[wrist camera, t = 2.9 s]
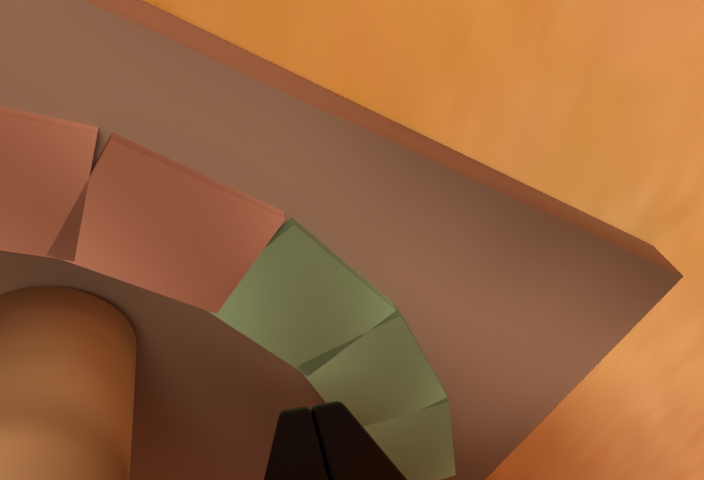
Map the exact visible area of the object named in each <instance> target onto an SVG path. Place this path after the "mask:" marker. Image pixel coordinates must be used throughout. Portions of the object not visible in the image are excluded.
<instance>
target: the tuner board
mask: <svg viewBox="0 0 704 480" xmlns="http://www.w3.org/2000/svg"><path fill="white" fill-rule="evenodd" d="M682 277H683V275H682V274H681V273H680V272H679V271H678V270H677V269H676V268H675V267H674V266H673V265H672V264H671V263H670V262H669V261H668V260H667V259H666V258H665V257H664V256H663V255H662V254H661V253H660V252H659V251H658V250H657V249H656V248H655V247H654V246H653V245H651V244H648V243H646V242H644V241H642V240H640V239H638V238H636V237H634V236H632V235H630V234H628V233H626V232H623V231H621V230H619V229H617V228H615V227H613V226H611V225H609V224H607V223H605V222H603V221H601V220H598V219H596V218H594V217H592V216H590V215H588V214H586V213H584V212H582V211H580V210H578V209H576V208H573V207H571V206H569V205H567V204H565V203H563V202H561V201H559V200H557V199H555V198H553V197H551V196H548V195H546V194H544V193H542V192H540V191H538V190H536V189H534V188H532V187H530V186H528V185H526V184H523V183H521V182H519V181H517V180H515V179H513V178H511V177H509V176H507V175H505V174H503V173H501V172H498V171H496V170H494V169H492V168H490V167H488V166H486V165H484V164H482V163H480V162H478V161H476V160H473V159H471V158H469V157H467V156H465V155H463V154H461V153H459V152H457V151H455V150H453V149H451V148H448V147H446V146H444V145H442V144H440V143H438V142H436V141H434V140H432V139H430V138H428V137H426V136H423V135H421V134H419V133H417V132H415V131H413V130H411V129H409V128H407V127H405V126H403V125H401V124H398V123H396V122H394V121H392V120H390V119H388V118H386V117H384V116H382V115H380V114H378V113H376V112H373V111H371V110H369V109H367V108H365V107H363V106H361V105H359V104H357V103H355V102H353V101H351V100H348V99H346V98H344V97H342V96H340V95H338V94H336V93H334V92H332V91H330V90H328V89H326V88H323V87H321V86H319V85H317V84H315V83H313V82H311V81H309V80H307V79H305V78H303V77H301V76H298V75H296V74H294V73H292V72H290V71H288V70H286V69H284V68H282V67H280V66H278V65H276V64H273V63H271V62H269V61H267V60H265V59H263V58H261V57H259V56H257V55H255V54H253V53H251V52H248V51H246V50H244V49H242V48H240V47H238V46H236V45H234V44H232V43H230V42H228V41H226V40H223V39H221V38H219V37H217V36H215V35H213V34H211V33H209V32H207V31H205V30H203V29H201V28H198V27H196V26H194V25H192V24H190V23H188V22H186V21H184V20H182V19H180V18H178V17H176V16H173V15H171V14H169V13H167V12H165V11H163V10H161V9H159V8H157V7H155V6H153V5H151V4H148V3H146V2H144V1H142V0H0V295H1V294H4V293H6V292H10V291H13V290H17V289H22V288H28V287H39V286H55V287H64V288H70V289H75V290H79V291H82V292H86V293H89V294H91V295H94V296H96V297H98V298H100V299H102V300H104V301H106V302H108V303H109V304H111V305H112V306H113V307H115V308H116V309H117V310H118V311H119V312H120V313H122V314H123V315H124V317H125V318H126V319H127V320H128V322H129V323H130V325H131V327H132V329H133V331H134V334H135V337H136V343H137V351H136V370H135V388H134V406H133V425H132V443H131V461H130V480H264V477H265V473H266V468H267V464H268V460H269V455H270V451H271V447H272V443H273V438H274V434H275V430H276V425H277V421H278V417H279V414H280V413H281V412H282V411H283V410H286V409H292V408H298V407H304V406H305V407H309V408H310V409H312V407H313V406H314V405H316V404H322V403H328V402H334V401H339V402H342V403H343V404H344V405H345V406H346V407H347V408H348V409H349V410H350V412H351V413H352V414H353V415H354V416H355V418H356V419H357V420H358V421H359V422H360V424H361V425H362V426H363V427H364V428H365V430H366V431H367V432H368V433H369V434H370V435H371V437H372V438H373V439H374V440H375V441H376V443H377V444H378V445H379V446H380V447H381V449H382V450H383V451H384V452H385V453H386V455H387V456H388V457H389V458H390V459H391V461H392V462H393V463H394V464H395V465H396V467H397V468H398V469H399V470H400V471H401V472H402V474H403V475H404V476H405V477H406V478H407V480H485V479H486V478H487V477H488V476H489V475H490V474H491V473H492V472H493V471H494V470H495V469H496V468H497V466H498V465H499V464H500V463H501V462H502V461H503V460H504V459H505V458H506V457H507V456H508V455H509V454H510V453H511V452H512V451H513V450H514V449H515V448H516V447H517V446H518V445H519V444H520V443H521V442H522V441H523V440H524V439H525V438H526V437H527V436H528V435H529V434H530V433H531V432H532V431H533V430H534V429H535V428H536V427H537V426H538V425H539V424H540V423H541V421H542V420H543V419H544V418H545V417H546V416H547V415H548V414H549V413H550V412H551V411H552V410H553V409H554V408H555V407H556V406H557V405H558V404H559V403H560V402H561V401H562V400H563V399H564V398H565V397H566V396H567V395H568V394H569V393H570V392H571V391H572V390H573V389H574V388H575V387H576V386H577V385H578V384H579V383H580V382H581V381H582V380H583V379H584V378H585V377H586V375H587V374H588V373H589V372H590V371H591V370H592V369H593V368H594V367H595V366H596V365H597V364H598V363H599V362H600V361H601V360H602V359H603V358H604V357H605V356H606V355H607V354H608V353H609V352H610V351H611V350H612V349H613V348H614V347H615V346H616V345H617V344H618V343H619V342H620V341H621V340H622V339H623V338H624V337H625V336H626V335H627V334H628V333H629V332H630V330H631V329H632V328H633V327H634V326H635V325H636V324H637V323H638V322H639V321H640V320H641V319H642V318H643V317H644V316H645V315H646V314H647V313H648V312H649V311H650V310H651V309H652V308H653V307H654V306H655V305H656V304H657V303H658V302H659V301H660V300H661V299H662V298H663V297H664V296H665V295H666V294H667V293H668V292H669V291H670V290H671V289H672V288H673V287H674V285H675V284H676V283H677V282H678V281H679V280H680V279H681V278H682Z"/></svg>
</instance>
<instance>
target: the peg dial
mask: <svg viewBox="0 0 704 480" xmlns="http://www.w3.org/2000/svg"><path fill="white" fill-rule="evenodd" d="M136 351H137V343H136V337H135V334H134V331H133V329H132V327H131V325H130V323H129V322H128V320H127V319H126V318H125V317H124V315H123V314H122V313H120V312H119V311H118V310H117V309H116V308H115V307H113V306H112V305H111V304H109V303H108V302H106V301H104V300H102V299H100V298H98V297H96V296H94V295H91V294H89V293H86V292H82V291H79V290H75V289H70V288H64V287H55V286H39V287H28V288H22V289H17V290H13V291H10V292H6V293H4V294H1V295H0V480H130V461H131V443H132V425H133V406H134V388H135V370H136Z"/></svg>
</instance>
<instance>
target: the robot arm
mask: <svg viewBox="0 0 704 480" xmlns="http://www.w3.org/2000/svg"><path fill="white" fill-rule="evenodd" d="M264 480H407V478H406V477H405V476H404V475H403V474H402V472H401V471H400V470H399V469H398V468H397V467H396V465H395V464H394V463H393V462H392V461H391V459H390V458H389V457H388V456H387V455H386V453H385V452H384V451H383V450H382V449H381V447H380V446H379V445H378V444H377V443H376V441H375V440H374V439H373V438H372V437H371V435H370V434H369V433H368V432H367V431H366V430H365V428H364V427H363V426H362V425H361V424H360V422H359V421H358V420H357V419H356V418H355V416H354V415H353V414H352V413H351V412H350V410H349V409H348V408H347V407H346V406H345V405H344V404H343V403H342V402H339V401H334V402H328V403H322V404H316V405H314V406H313V407H312V409H310V408H309V407H305V406H304V407H298V408H292V409H286V410H283V411H282V412H281V413H280V414H279V417H278V421H277V425H276V430H275V434H274V438H273V443H272V447H271V451H270V455H269V460H268V464H267V468H266V473H265V477H264Z"/></svg>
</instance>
